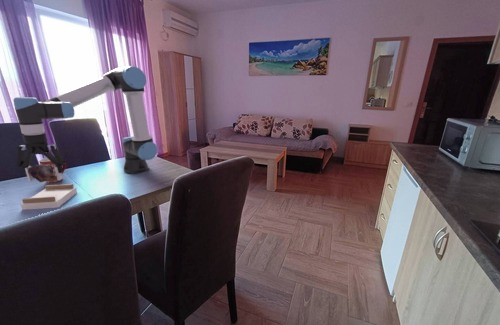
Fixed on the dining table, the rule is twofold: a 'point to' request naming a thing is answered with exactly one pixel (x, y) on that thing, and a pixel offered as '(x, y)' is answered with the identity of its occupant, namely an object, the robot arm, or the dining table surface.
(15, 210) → the dining table surface
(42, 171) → the rock
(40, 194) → the display stand
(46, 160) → the mug
